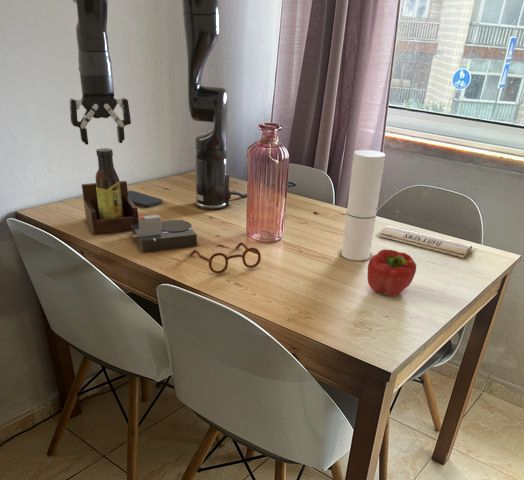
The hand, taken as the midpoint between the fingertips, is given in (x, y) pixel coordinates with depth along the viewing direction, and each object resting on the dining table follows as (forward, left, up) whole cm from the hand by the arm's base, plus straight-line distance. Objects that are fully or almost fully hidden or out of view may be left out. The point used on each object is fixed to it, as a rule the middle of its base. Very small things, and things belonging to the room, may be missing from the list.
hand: (103, 143), depth 139 cm
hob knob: (-6, +18, -18) cm, 27 cm away
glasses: (-20, +34, -22) cm, 45 cm away
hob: (-10, +16, -22) cm, 29 cm away
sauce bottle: (0, 0, -22) cm, 22 cm away
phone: (-12, -19, -22) cm, 31 cm away
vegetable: (-48, +62, -22) cm, 81 cm away
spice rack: (0, 0, -22) cm, 22 cm away
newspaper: (-76, +40, -22) cm, 88 cm away
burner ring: (-13, +14, -19) cm, 27 cm away
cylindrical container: (-53, +41, -22) cm, 70 cm away
